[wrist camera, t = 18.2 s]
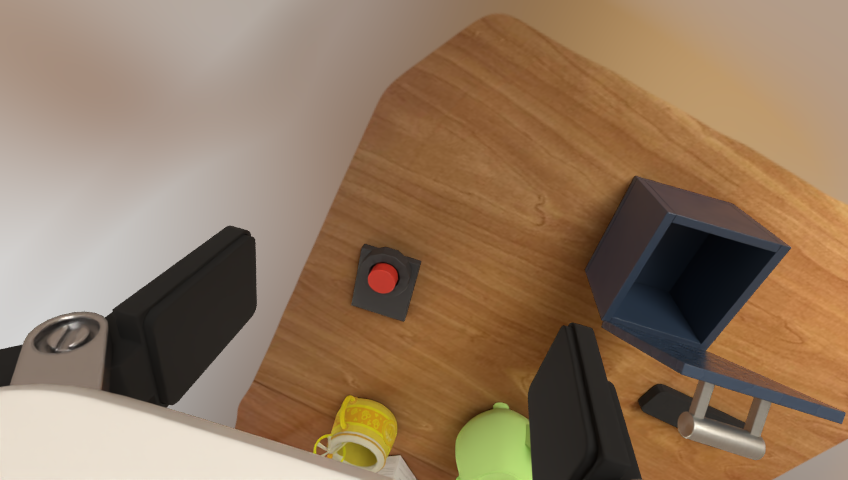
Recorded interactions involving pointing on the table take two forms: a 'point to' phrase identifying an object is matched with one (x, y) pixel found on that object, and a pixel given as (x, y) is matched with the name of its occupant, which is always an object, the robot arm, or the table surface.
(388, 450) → the mug
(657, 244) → the lidded box
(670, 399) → the remote control
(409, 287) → the switch block
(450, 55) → the table surface
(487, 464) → the teapot
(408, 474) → the white product box
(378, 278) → the button
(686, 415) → the blue drawer with handle
